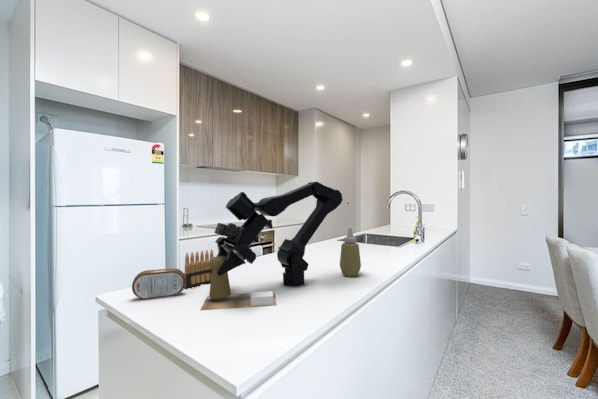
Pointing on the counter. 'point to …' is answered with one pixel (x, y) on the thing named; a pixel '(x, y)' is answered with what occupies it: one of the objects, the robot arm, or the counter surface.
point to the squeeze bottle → (350, 256)
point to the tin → (158, 283)
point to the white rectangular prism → (261, 298)
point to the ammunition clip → (198, 270)
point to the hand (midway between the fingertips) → (214, 272)
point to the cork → (219, 279)
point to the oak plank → (232, 302)
